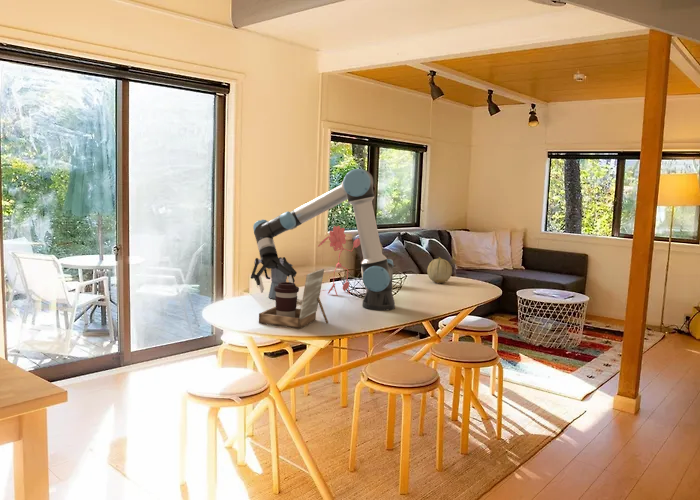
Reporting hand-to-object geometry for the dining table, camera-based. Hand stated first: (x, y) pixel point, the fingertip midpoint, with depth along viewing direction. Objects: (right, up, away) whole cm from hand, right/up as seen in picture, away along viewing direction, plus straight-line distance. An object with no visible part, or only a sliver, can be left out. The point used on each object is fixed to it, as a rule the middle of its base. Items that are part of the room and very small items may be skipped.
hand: (277, 290), depth 247 cm
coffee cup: (+4, -12, -9) cm, 15 cm away
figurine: (+23, -5, +56) cm, 60 cm away
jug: (+44, -3, +81) cm, 92 cm away
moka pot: (-5, -6, +37) cm, 38 cm away
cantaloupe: (+83, -3, +99) cm, 129 cm away
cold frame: (+8, -13, -10) cm, 18 cm away
